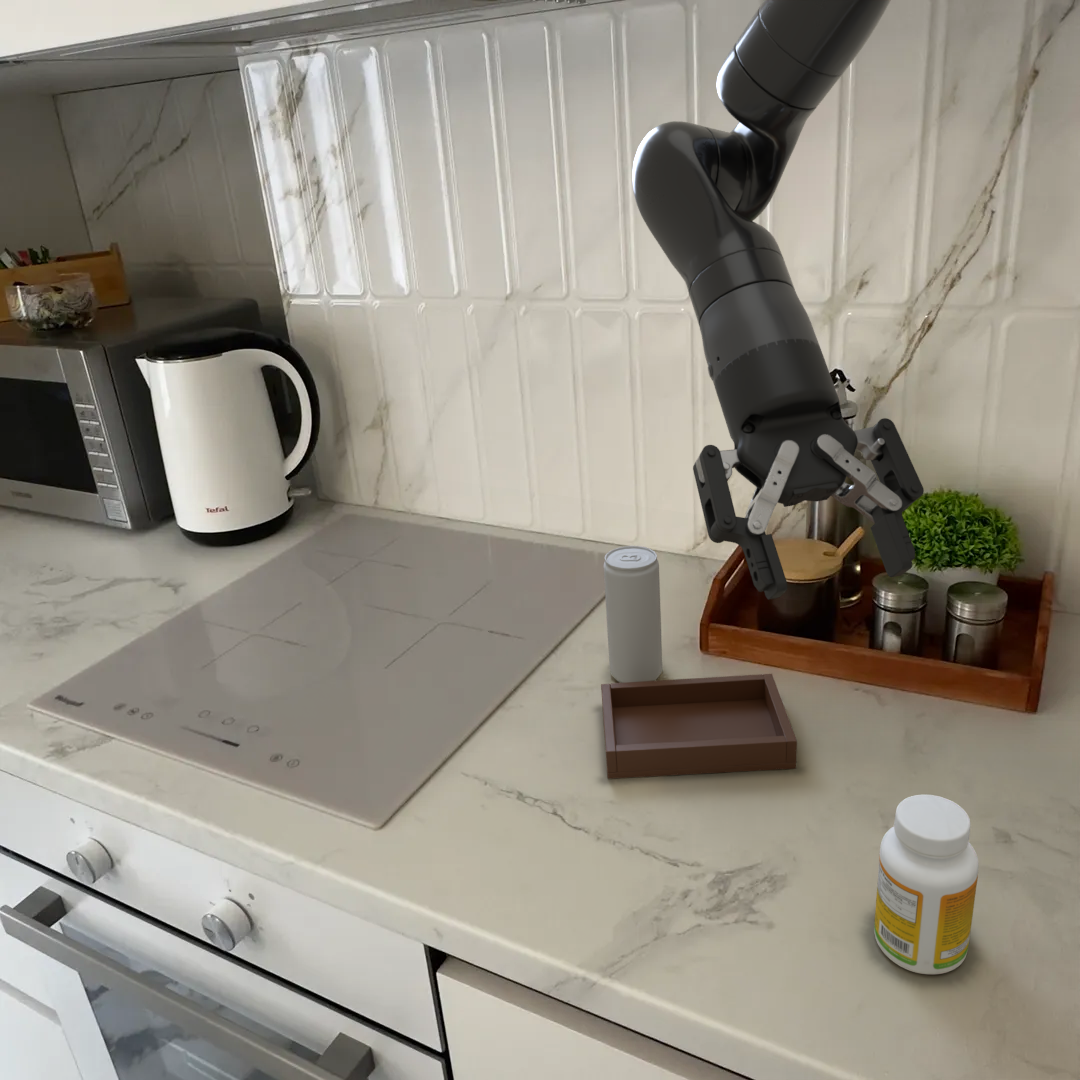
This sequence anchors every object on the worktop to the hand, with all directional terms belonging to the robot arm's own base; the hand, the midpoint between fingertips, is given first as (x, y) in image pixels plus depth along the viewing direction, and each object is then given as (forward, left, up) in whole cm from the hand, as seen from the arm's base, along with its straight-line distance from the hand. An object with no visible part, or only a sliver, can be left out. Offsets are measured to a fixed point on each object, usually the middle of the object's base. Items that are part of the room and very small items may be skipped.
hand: (840, 583), depth 62 cm
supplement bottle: (-3, +11, -19) cm, 22 cm away
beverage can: (+12, -21, -19) cm, 31 cm away
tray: (+8, -11, -19) cm, 23 cm away
